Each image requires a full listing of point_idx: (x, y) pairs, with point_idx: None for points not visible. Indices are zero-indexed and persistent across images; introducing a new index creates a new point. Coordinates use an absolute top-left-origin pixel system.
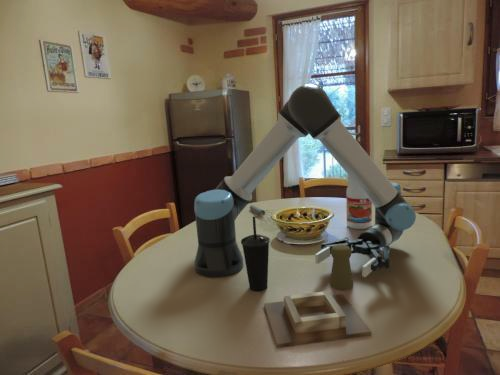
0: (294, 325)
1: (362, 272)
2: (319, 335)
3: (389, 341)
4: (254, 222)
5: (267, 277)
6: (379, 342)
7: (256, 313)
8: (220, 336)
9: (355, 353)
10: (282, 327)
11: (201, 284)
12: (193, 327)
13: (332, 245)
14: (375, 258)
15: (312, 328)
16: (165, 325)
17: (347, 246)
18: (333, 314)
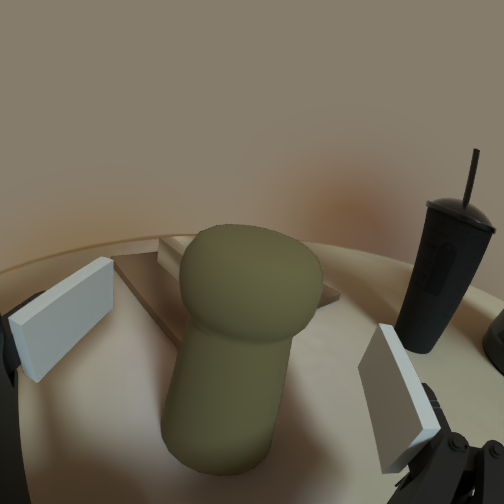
0: None
1: (111, 289)
2: None
3: (83, 256)
4: (471, 162)
5: (410, 318)
6: (100, 254)
7: (331, 286)
8: (323, 257)
9: (139, 244)
10: None
11: (469, 320)
12: (363, 264)
13: (442, 475)
14: (15, 314)
15: None
16: (387, 265)
17: (218, 240)
18: (183, 239)
